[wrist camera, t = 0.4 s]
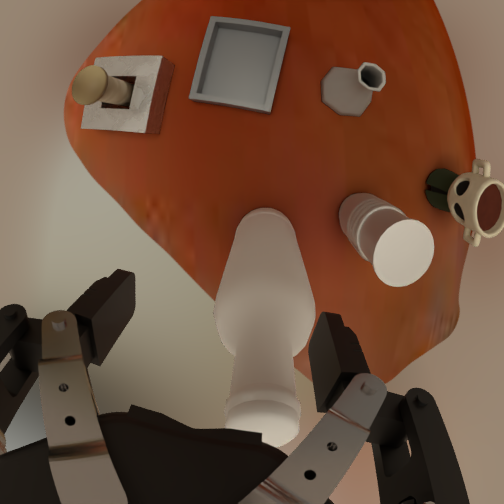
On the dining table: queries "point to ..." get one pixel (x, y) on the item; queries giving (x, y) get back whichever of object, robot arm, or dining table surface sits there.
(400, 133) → the dining table surface
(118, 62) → the hitch block
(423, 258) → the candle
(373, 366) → the dining table surface
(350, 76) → the flask
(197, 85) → the tray
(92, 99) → the pin
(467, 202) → the character mug
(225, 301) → the bottle
